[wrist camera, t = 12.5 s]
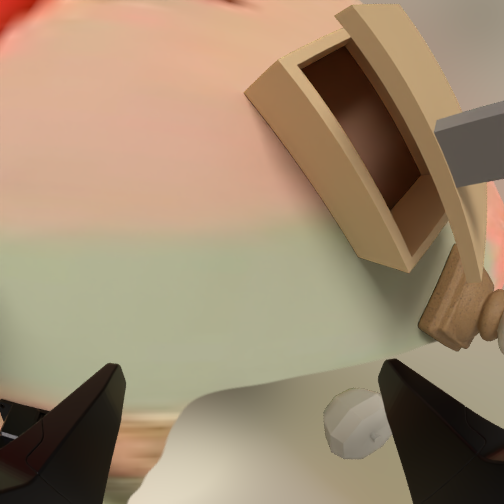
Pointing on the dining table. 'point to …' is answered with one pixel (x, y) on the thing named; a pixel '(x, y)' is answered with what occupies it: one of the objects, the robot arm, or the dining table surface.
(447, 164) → the lid
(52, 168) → the dining table surface
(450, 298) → the candle holder
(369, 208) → the wooden box
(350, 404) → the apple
